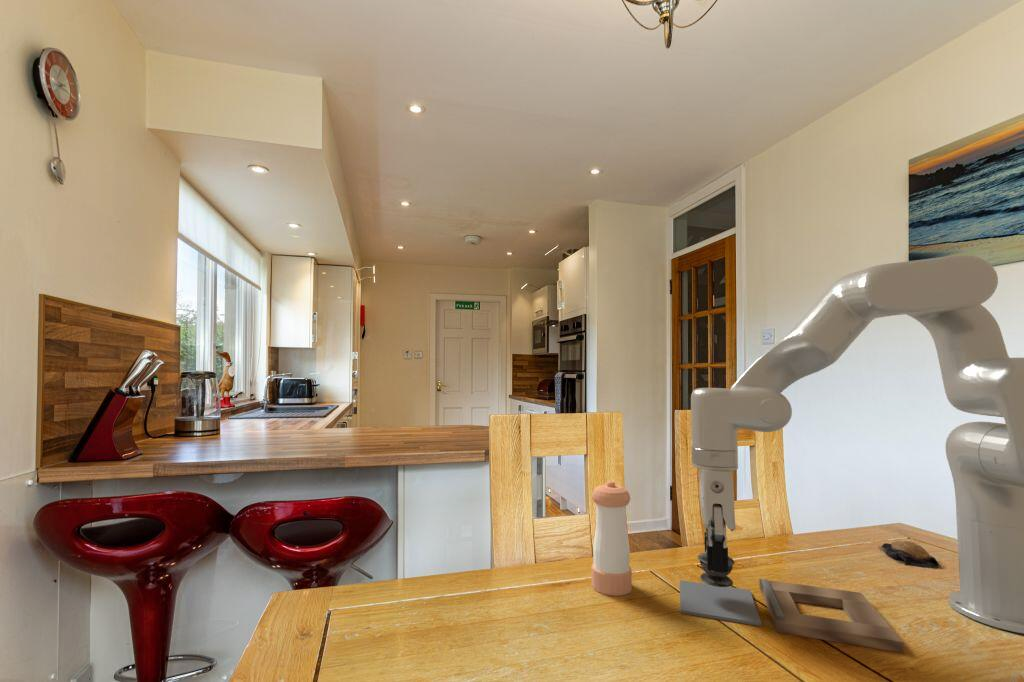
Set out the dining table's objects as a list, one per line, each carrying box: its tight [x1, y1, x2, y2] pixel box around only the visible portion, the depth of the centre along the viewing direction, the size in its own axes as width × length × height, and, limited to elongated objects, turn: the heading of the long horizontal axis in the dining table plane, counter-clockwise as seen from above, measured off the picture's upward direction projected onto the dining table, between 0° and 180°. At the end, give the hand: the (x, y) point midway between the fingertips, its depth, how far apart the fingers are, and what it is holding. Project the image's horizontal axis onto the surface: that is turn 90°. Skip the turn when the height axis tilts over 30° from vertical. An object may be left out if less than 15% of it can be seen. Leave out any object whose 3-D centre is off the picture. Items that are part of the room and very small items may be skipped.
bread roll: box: [877, 540, 942, 569], centre depth 103 cm, size 11×8×4 cm
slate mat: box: [679, 579, 763, 627], centre depth 82 cm, size 12×12×1 cm
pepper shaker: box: [591, 480, 633, 596], centre depth 88 cm, size 7×7×19 cm
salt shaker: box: [697, 523, 735, 587], centre depth 83 cm, size 6×6×12 cm
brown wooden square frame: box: [758, 578, 904, 653], centre depth 78 cm, size 16×16×2 cm
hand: (716, 562), depth 82 cm, fingers closed on salt shaker, 5 cm apart
